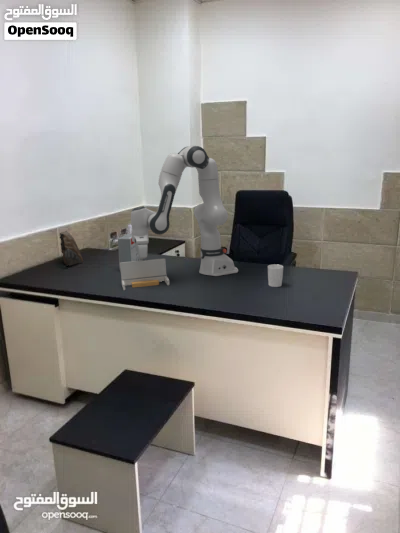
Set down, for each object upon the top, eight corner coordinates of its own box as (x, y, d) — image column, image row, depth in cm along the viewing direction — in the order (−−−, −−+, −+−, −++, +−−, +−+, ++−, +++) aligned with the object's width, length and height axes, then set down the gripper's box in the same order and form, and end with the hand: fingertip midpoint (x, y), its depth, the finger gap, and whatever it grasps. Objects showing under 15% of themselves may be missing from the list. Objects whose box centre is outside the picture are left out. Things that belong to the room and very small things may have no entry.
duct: (166, 280, 228) (166, 275, 227) (169, 285, 220) (169, 279, 219) (121, 285, 222) (121, 280, 221) (123, 290, 214) (123, 284, 213)
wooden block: (158, 283, 224) (158, 279, 224) (159, 285, 222) (158, 281, 221) (131, 286, 221) (131, 282, 221) (132, 288, 218) (132, 283, 218)
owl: (67, 266, 262) (63, 234, 256) (55, 263, 270) (52, 232, 264) (84, 261, 271) (80, 231, 266) (72, 259, 279) (69, 229, 274)
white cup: (273, 288, 211) (274, 269, 209) (264, 284, 218) (264, 265, 215) (285, 285, 215) (286, 267, 212) (276, 281, 222) (276, 263, 219)
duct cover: (166, 275, 226) (165, 274, 228) (165, 258, 225) (164, 258, 226) (121, 279, 220) (121, 279, 222) (120, 262, 219) (119, 262, 220)
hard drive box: (131, 272, 245) (129, 239, 240) (119, 272, 247) (116, 238, 241) (140, 265, 260) (138, 233, 254) (129, 264, 261) (126, 233, 256)
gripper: (132, 234, 232) (133, 258, 236) (136, 241, 213) (138, 267, 217) (143, 233, 234) (144, 257, 237) (149, 240, 215) (150, 266, 218)
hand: (141, 262), depth 227 cm, fingers closed
